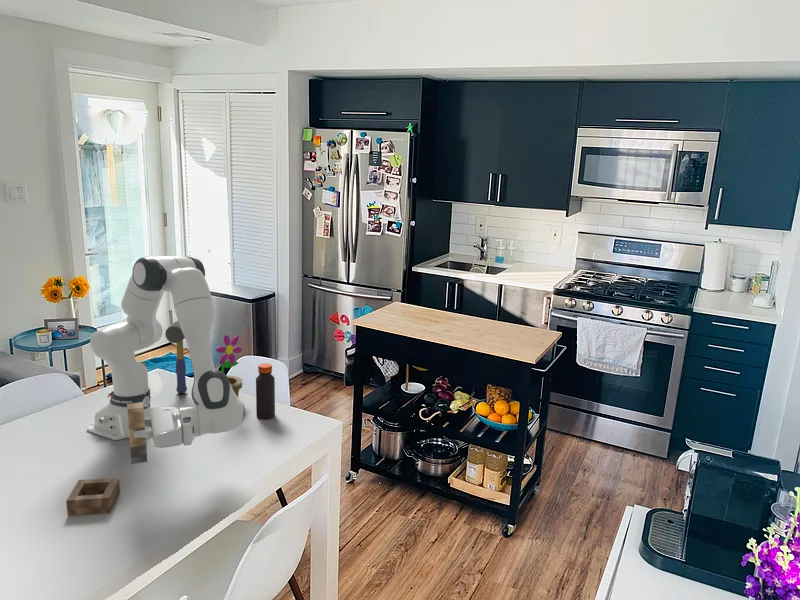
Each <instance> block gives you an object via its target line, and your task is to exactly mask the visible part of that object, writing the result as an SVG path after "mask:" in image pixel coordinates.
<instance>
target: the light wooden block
mask: <svg viewBox="0 0 800 600" xmlns="http://www.w3.org/2000/svg"><path fill="white" fill-rule="evenodd" d="M127 412H128V426H129V452H130V453H129V454H130V462H131V463H130V464H131V465H133V464H134V465H136V464H140V463H141V464H142V463H147V462H148V453H147V451H148V449H147V438H143V437H139V438H134V430H137V429H140V430H145V421H144V407H143V402H139V403H131V404H127Z"/></svg>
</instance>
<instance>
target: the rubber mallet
mask: <svg viewBox="0 0 800 600" xmlns="http://www.w3.org/2000/svg"><path fill="white" fill-rule="evenodd" d="M165 338H166V340H167V341H168V342H170V343H173V344H176V360H175V374H176V387H175V389H176V392H177V393H184V394H186V393H185V392H187V391H188V387H187V383H186V382H187V381H186V379H187V378H186V374H187V367H186V361H185V360H186V359H185V355H184V339H185V337H184V334H183V332H182V329H181V327H180V325H179V322H178V320H176V321H174V322H172V323H171V325H169V326H168V327H167V328H166V330H165ZM185 340H186V339H185Z"/></svg>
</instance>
